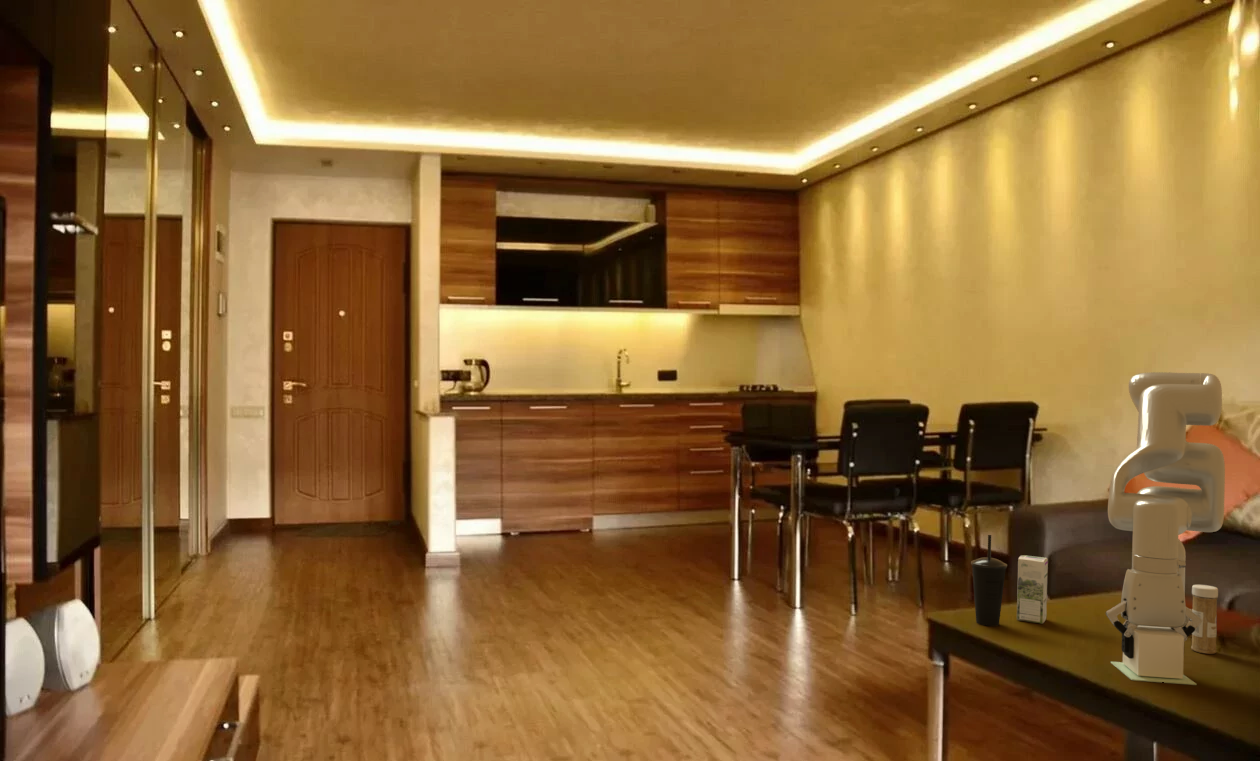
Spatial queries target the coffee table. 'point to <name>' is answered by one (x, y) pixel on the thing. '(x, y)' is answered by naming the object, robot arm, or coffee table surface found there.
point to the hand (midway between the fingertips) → (1152, 657)
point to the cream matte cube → (1156, 652)
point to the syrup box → (1032, 589)
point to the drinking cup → (988, 588)
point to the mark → (1133, 676)
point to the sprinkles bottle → (1205, 618)
